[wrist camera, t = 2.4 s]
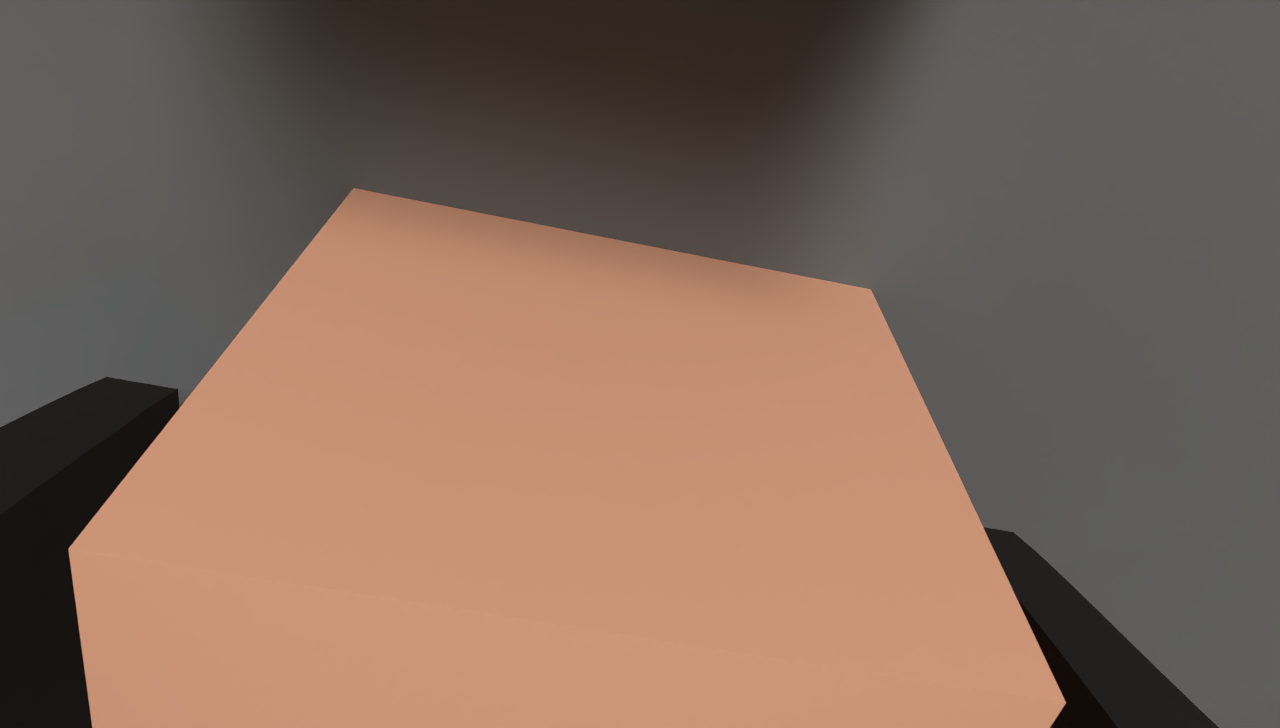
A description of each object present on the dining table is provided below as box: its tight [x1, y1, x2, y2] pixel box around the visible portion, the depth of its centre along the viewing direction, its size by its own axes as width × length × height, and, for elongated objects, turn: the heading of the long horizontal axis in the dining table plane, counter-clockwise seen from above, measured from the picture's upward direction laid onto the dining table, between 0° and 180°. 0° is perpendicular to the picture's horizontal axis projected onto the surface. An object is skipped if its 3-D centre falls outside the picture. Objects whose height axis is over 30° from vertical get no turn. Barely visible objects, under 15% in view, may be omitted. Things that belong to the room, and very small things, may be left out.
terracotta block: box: [68, 188, 1066, 728], centre depth 8 cm, size 5×5×5 cm
